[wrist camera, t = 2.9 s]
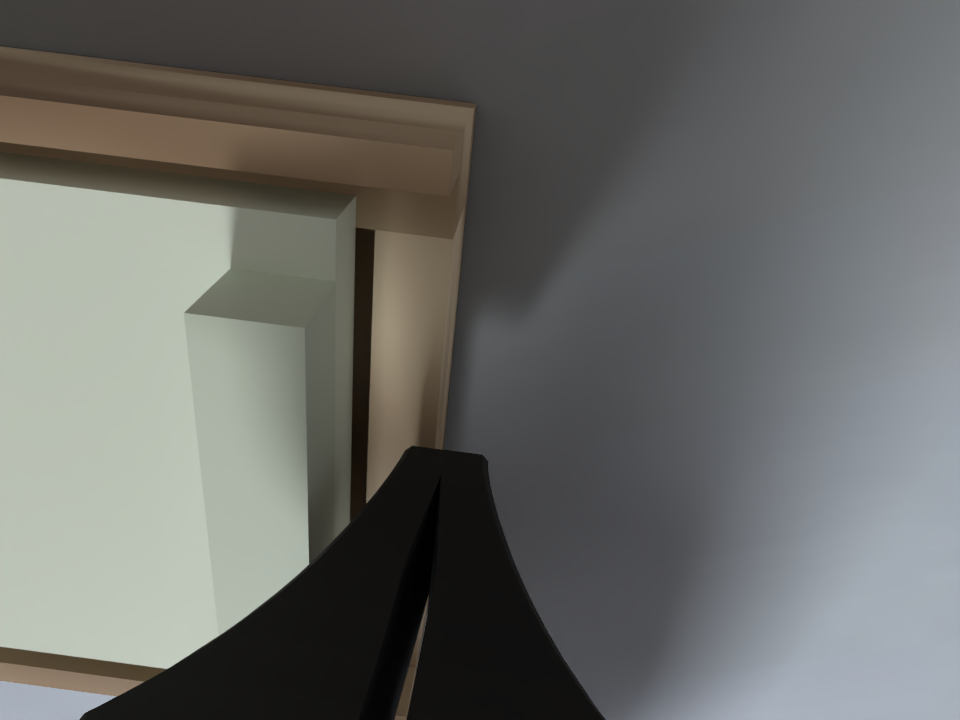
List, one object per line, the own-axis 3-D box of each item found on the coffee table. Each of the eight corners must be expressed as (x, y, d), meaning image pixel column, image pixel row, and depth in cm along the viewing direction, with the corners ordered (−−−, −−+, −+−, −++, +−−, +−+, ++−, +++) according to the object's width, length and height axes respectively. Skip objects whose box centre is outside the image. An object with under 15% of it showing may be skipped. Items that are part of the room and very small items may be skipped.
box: (429, 598, 18) (404, 735, 15) (-112, 526, 18) (-253, 645, 15) (476, 103, 12) (453, 150, 9) (-316, 8, 13) (-615, 20, 9)
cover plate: (347, 641, 15) (312, 763, 13) (-152, 575, 16) (-277, 683, 13) (356, 195, 11) (303, 258, 8) (-362, 106, 11) (-614, 144, 8)
